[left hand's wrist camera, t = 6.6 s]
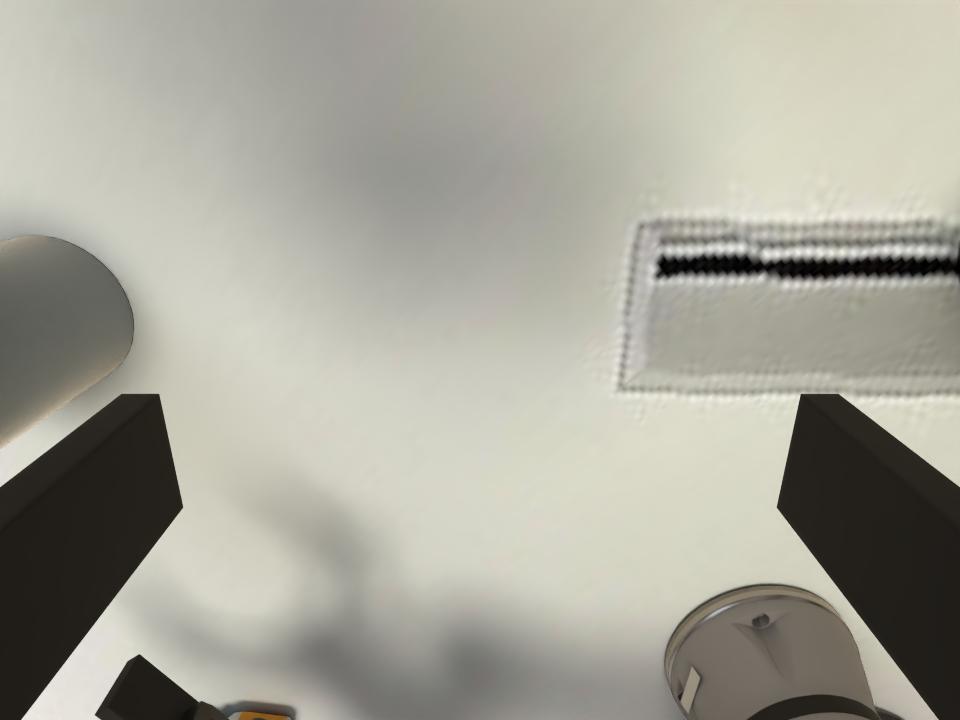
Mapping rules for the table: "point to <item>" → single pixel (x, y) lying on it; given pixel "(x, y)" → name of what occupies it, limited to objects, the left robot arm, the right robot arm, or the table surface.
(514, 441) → the table surface
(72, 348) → the jar
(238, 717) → the spray gun
